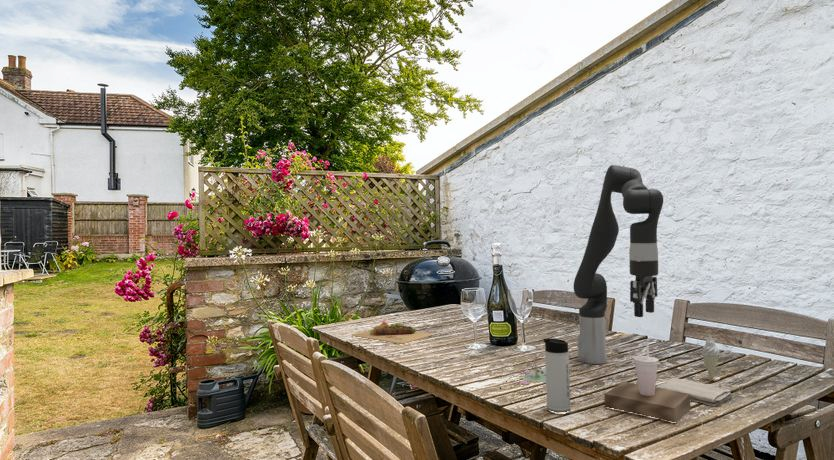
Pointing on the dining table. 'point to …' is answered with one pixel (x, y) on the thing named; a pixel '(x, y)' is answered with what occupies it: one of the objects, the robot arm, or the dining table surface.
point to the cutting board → (393, 333)
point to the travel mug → (557, 375)
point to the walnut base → (648, 402)
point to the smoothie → (646, 373)
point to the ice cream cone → (710, 356)
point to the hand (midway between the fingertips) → (644, 314)
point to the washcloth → (698, 391)
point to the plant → (534, 374)
